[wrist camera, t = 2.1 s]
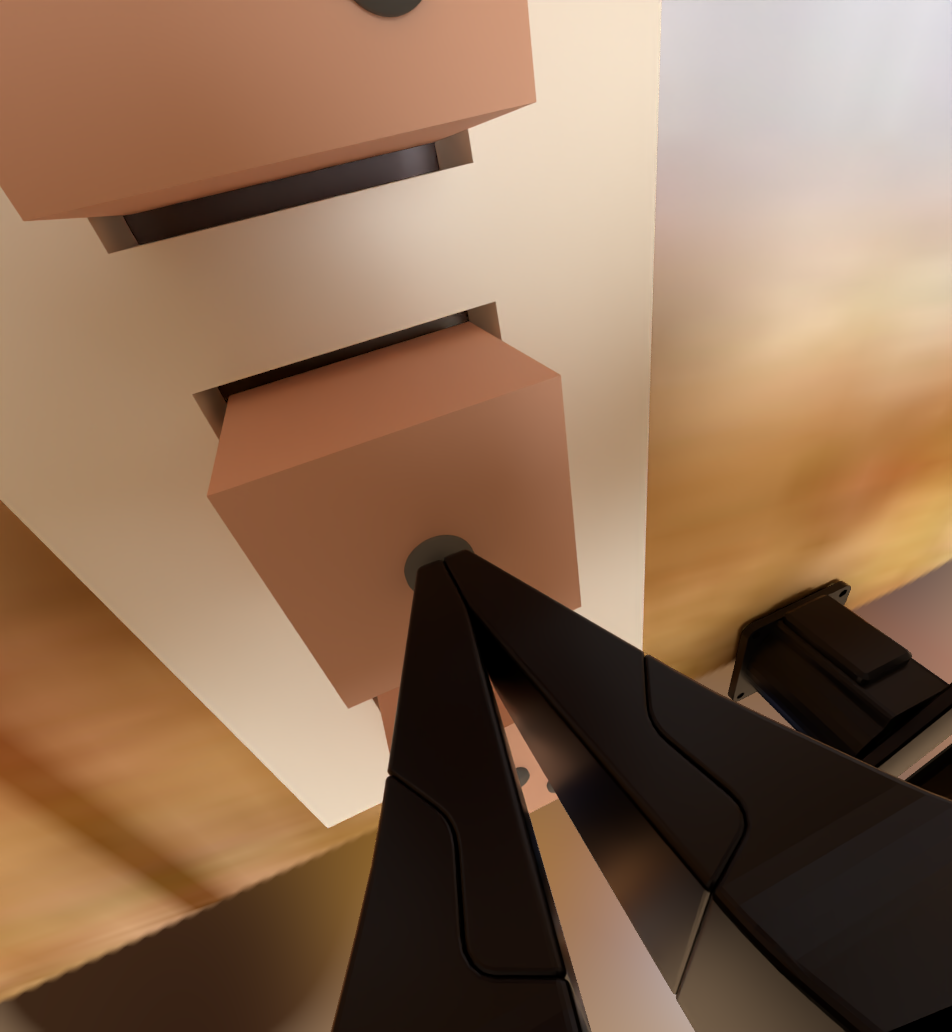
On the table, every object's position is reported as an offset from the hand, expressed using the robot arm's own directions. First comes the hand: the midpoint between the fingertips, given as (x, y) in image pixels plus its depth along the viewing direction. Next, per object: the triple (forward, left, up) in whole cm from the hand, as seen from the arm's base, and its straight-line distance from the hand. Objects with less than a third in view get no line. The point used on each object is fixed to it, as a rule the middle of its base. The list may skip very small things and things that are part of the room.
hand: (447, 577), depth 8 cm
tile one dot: (0, 0, -4) cm, 4 cm away
